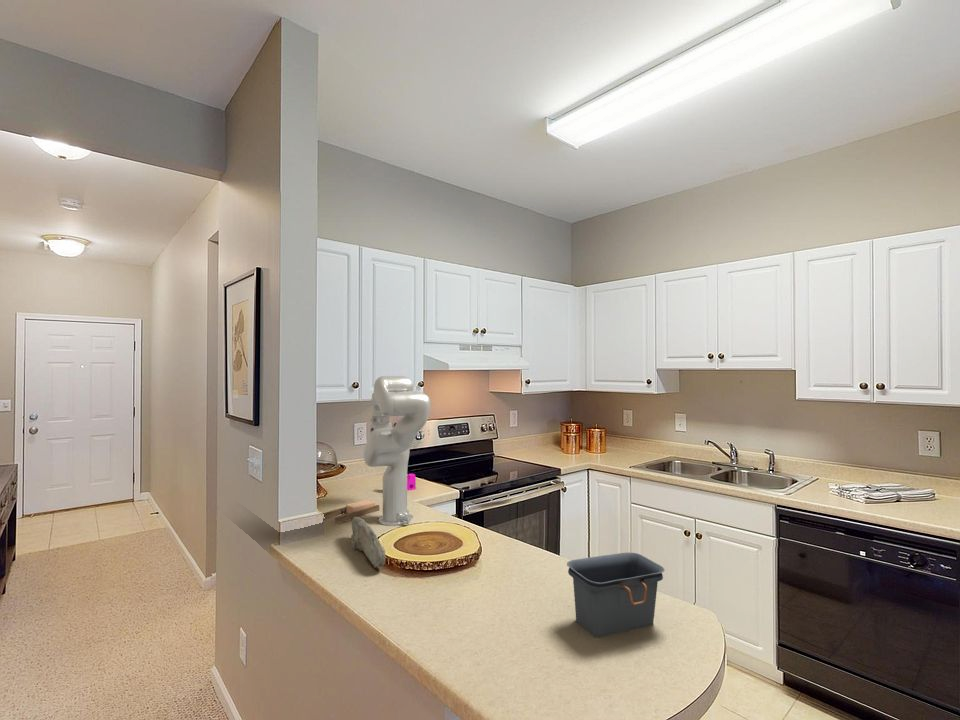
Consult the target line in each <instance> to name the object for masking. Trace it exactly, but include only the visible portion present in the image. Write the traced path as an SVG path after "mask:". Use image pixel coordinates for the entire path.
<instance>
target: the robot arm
mask: <svg viewBox="0 0 960 720" xmlns="http://www.w3.org/2000/svg"><path fill="white" fill-rule="evenodd" d="M414 389H415V384H414V381H413V380H412V379H411V378H410V377H408V376H405V375H404V376H403V375H385V376H384V375H383V376H379V377H377V379H375V381H374V384H373V392H372V394H371V418H370V422H371V424H370V428H369V434H368V435H369V436H368V439H367V441H366V444H365V448H364V450H363V461H364V463H365V464H366V465H367V466H368V467H371V468H377V467H386V466H387V467H386V469H385V471H384V472H383V475H382V515H381V516H380V517H379V518H378V523H379V524H380V525H383V526H387V527H388V526H390V527H397V526H402V525H407V524H409V523H410V522H412V519H413V518H414V514H411V513H410V510H409V509H408V490H407V475H408V465H409V458H410V452H411V451H410V447H411V446H412V445H413V443H414V441H415V439H416V437H417V435H418V433H419V432H420V431H421V430H422V429H423V427H425V425H426V423H427V422H428V419H429V416H430V413H431V410H432V409H431V406H432V402H431V400H430V397H429V396H428V395H427V394H426V393H424V392H422V391H414ZM399 416H402V417H401V418H400V419H398V421H397V422H396V423H395V426H392V422H390V421H391V420H390V417H399Z"/></svg>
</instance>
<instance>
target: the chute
mask: <svg viewBox="0 0 960 720" xmlns="http://www.w3.org/2000/svg"><path fill="white" fill-rule="evenodd" d="M379 511H380V504H375V506H372V507H369V508H366V509H362V510H359V511H356V512H352V513H349V514H348V513H346V506H343V507H341V508H340V507H339V508H337V509H333V510H330V511H326V512H323V514H324V517H325V519H324V520H327V519H330V518H333V517H335V518H334V523H335V525H337V524H341V523H344V522H346V521H347V520H348V521H350V519H351V520H353V518H354V517H360V518H361V517H363V516H366V514H367V515H369V514H372V513H373V514H374V513H376V512H379ZM343 513H344V514H343ZM340 514H341V515H340Z"/></svg>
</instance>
